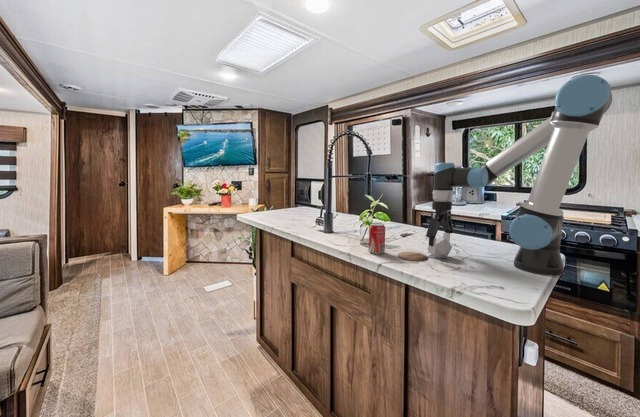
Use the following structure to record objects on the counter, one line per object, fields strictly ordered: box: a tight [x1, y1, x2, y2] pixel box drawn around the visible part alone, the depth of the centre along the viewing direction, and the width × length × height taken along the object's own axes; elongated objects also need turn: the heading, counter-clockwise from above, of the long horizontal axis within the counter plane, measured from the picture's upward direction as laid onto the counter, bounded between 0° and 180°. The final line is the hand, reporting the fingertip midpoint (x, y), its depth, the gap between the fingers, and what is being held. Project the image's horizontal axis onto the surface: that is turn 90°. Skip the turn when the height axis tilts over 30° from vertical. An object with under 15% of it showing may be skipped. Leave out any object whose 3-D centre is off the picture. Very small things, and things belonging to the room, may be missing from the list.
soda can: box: [368, 222, 386, 255], centre depth 131 cm, size 7×7×13 cm
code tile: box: [426, 253, 453, 262], centre depth 125 cm, size 8×8×1 cm
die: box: [426, 237, 453, 258], centre depth 125 cm, size 8×9×10 cm
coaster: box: [397, 251, 428, 262], centre depth 125 cm, size 12×12×1 cm
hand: (439, 250), depth 125 cm, fingers open, 13 cm apart
